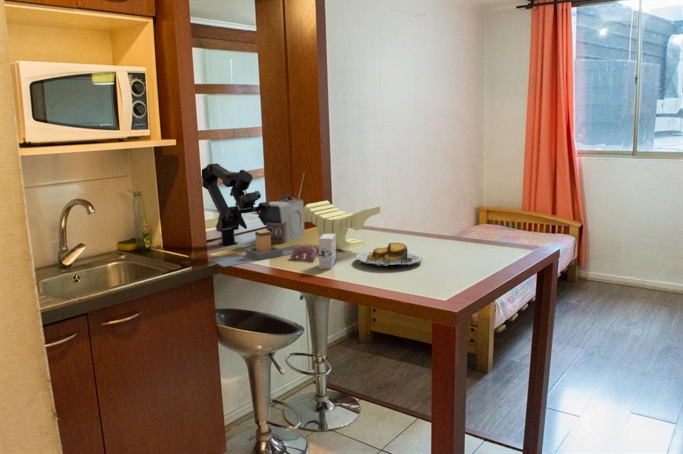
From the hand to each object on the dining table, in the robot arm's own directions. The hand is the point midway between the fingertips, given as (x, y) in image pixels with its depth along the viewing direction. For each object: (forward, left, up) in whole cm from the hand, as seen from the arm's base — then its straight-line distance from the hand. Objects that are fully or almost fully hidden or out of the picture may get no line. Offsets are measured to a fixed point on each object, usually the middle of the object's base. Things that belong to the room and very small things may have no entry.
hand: (256, 226), depth 235 cm
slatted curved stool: (+11, +34, -12) cm, 38 cm away
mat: (+4, -14, -12) cm, 18 cm away
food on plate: (+44, +33, -12) cm, 57 cm away
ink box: (+34, +12, -12) cm, 38 cm away
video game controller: (+20, +10, -12) cm, 26 cm away
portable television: (-17, +22, -12) cm, 30 cm away
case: (+5, +6, -12) cm, 14 cm away
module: (+5, 0, -11) cm, 12 cm away
